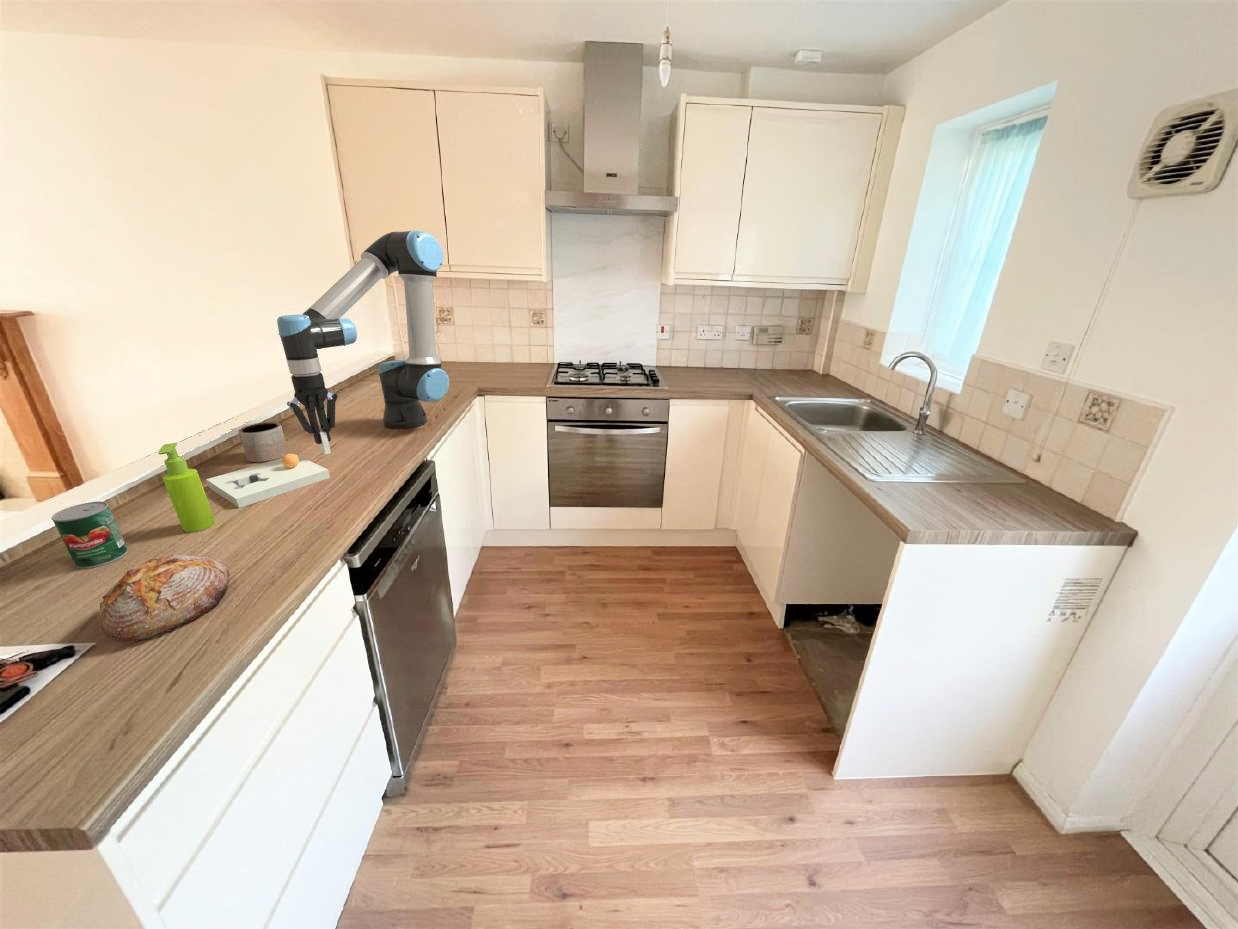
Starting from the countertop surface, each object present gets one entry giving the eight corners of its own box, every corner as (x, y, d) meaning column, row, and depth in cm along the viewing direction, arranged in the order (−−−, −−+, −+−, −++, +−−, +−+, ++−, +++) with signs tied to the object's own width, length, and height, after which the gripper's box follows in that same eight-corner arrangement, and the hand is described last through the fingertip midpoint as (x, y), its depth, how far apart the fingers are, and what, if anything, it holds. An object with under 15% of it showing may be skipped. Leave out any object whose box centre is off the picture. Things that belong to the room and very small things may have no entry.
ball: (296, 463, 141) (292, 450, 139) (303, 466, 139) (299, 453, 137) (281, 467, 138) (277, 454, 136) (287, 471, 136) (283, 457, 134)
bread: (80, 660, 77) (46, 609, 73) (156, 584, 95) (132, 540, 91) (198, 637, 80) (172, 587, 76) (251, 568, 98) (231, 525, 94)
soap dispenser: (178, 536, 109) (144, 452, 101) (187, 523, 114) (155, 442, 106) (211, 530, 111) (180, 448, 103) (218, 517, 117) (189, 438, 109)
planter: (239, 460, 150) (229, 430, 146) (273, 448, 159) (265, 420, 155) (263, 465, 146) (253, 435, 142) (297, 453, 155) (289, 424, 151)
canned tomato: (82, 573, 96) (57, 524, 92) (70, 561, 100) (45, 513, 96) (134, 554, 102) (113, 507, 98) (121, 543, 106) (100, 498, 102)
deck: (297, 461, 148) (294, 454, 147) (330, 477, 138) (328, 469, 137) (209, 487, 132) (206, 479, 131) (239, 508, 121) (236, 499, 120)
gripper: (323, 367, 143) (341, 443, 152) (274, 375, 133) (296, 456, 142) (337, 370, 139) (354, 448, 148) (286, 379, 129) (309, 462, 138)
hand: (326, 452), depth 145 cm, fingers closed
